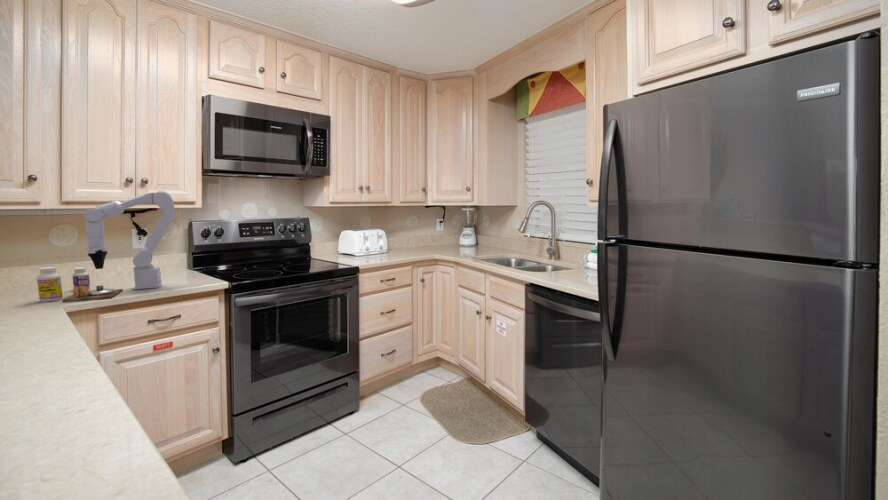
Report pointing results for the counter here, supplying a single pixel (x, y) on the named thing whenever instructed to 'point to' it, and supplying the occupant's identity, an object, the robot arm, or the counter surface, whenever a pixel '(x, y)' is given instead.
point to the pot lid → (93, 291)
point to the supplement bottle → (49, 285)
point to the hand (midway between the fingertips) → (99, 268)
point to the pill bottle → (81, 278)
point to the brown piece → (95, 297)
